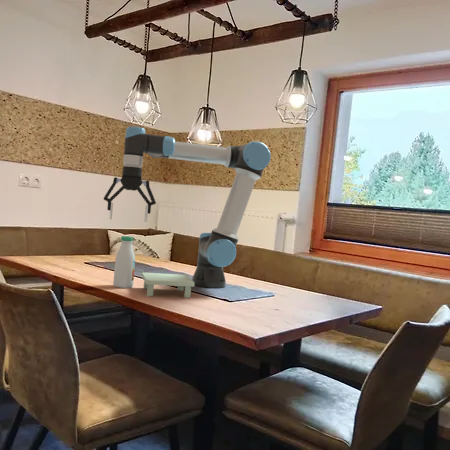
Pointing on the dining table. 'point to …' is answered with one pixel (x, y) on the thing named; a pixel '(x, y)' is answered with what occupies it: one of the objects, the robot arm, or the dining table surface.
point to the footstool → (167, 282)
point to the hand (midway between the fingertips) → (128, 220)
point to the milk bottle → (124, 264)
